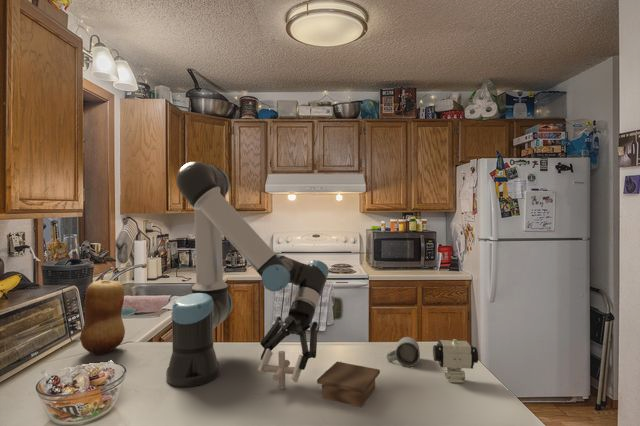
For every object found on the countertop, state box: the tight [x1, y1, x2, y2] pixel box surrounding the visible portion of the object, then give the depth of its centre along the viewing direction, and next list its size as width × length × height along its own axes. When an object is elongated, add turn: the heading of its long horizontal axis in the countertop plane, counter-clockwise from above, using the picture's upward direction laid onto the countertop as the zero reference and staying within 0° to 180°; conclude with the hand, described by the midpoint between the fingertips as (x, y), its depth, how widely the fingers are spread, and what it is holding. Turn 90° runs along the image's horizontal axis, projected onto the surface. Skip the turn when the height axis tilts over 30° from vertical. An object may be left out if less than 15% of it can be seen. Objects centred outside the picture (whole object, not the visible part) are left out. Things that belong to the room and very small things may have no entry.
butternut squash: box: [79, 279, 126, 356], centre depth 131 cm, size 14×13×25 cm
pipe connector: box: [264, 350, 295, 390], centre depth 105 cm, size 10×10×10 cm
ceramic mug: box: [385, 336, 421, 368], centre depth 123 cm, size 11×8×8 cm
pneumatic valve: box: [432, 338, 479, 384], centre depth 108 cm, size 6×12×12 cm, turn 83°
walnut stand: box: [316, 361, 381, 408], centre depth 102 cm, size 13×13×5 cm
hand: (277, 376), depth 103 cm, fingers closed on pipe connector, 10 cm apart
